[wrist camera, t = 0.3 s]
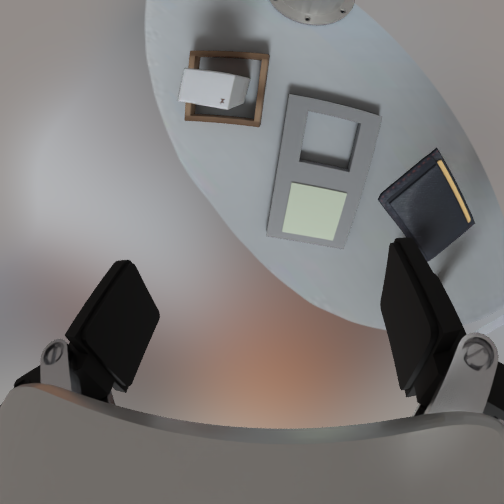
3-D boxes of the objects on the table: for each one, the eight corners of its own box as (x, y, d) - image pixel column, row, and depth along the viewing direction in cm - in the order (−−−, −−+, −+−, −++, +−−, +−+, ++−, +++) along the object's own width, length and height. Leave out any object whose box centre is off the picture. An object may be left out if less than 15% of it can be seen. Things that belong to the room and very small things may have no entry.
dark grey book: (377, 199, 41) (442, 147, 33) (374, 195, 42) (437, 144, 35) (424, 269, 47) (478, 227, 40) (421, 263, 49) (473, 223, 41)
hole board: (289, 93, 34) (289, 94, 33) (379, 115, 34) (382, 116, 32) (266, 231, 48) (266, 236, 47) (342, 244, 48) (343, 250, 46)
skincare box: (251, 77, 33) (237, 74, 24) (244, 103, 36) (228, 111, 26) (211, 70, 33) (183, 67, 23) (205, 96, 36) (176, 102, 26)
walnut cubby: (195, 52, 31) (190, 50, 29) (269, 56, 31) (268, 54, 29) (190, 118, 38) (184, 120, 36) (260, 124, 37) (258, 127, 35)
